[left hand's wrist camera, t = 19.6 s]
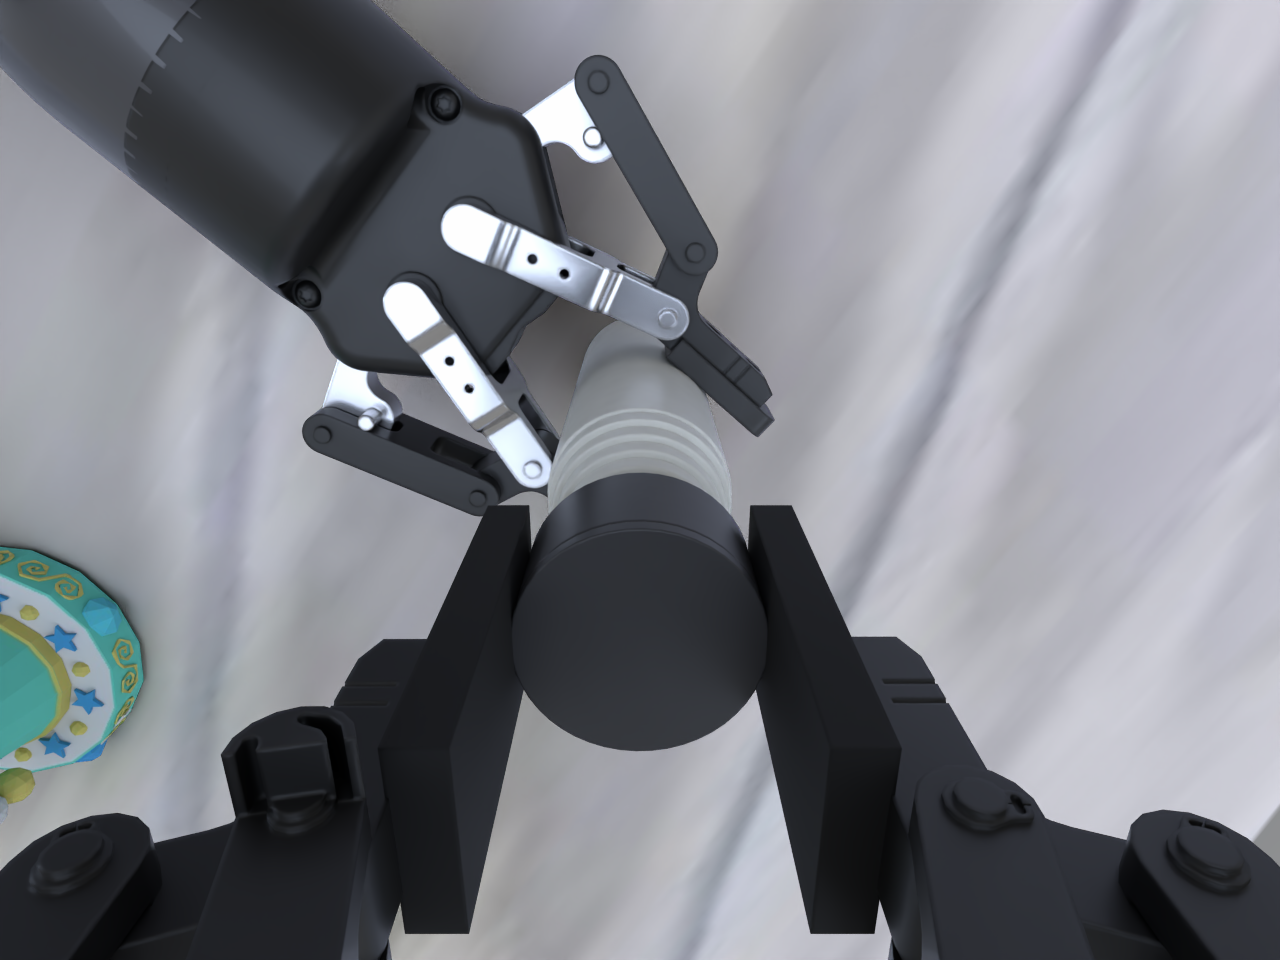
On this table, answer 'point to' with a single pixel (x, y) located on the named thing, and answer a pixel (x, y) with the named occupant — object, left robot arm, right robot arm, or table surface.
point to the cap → (639, 615)
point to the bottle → (637, 420)
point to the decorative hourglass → (58, 669)
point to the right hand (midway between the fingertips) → (705, 475)
